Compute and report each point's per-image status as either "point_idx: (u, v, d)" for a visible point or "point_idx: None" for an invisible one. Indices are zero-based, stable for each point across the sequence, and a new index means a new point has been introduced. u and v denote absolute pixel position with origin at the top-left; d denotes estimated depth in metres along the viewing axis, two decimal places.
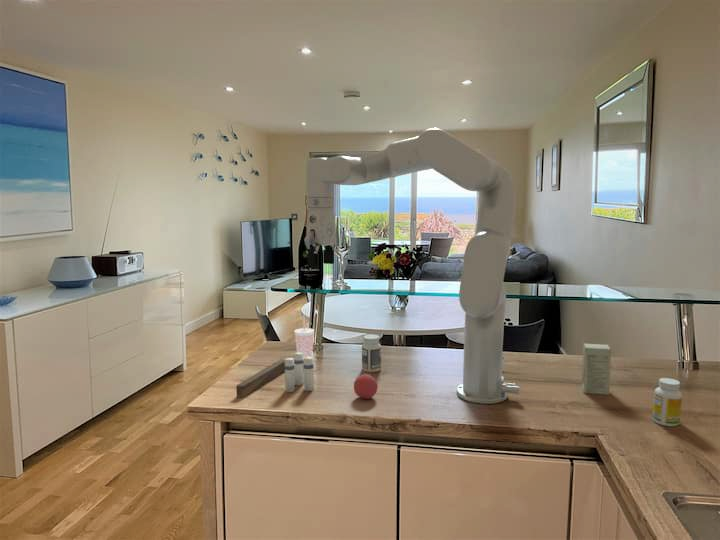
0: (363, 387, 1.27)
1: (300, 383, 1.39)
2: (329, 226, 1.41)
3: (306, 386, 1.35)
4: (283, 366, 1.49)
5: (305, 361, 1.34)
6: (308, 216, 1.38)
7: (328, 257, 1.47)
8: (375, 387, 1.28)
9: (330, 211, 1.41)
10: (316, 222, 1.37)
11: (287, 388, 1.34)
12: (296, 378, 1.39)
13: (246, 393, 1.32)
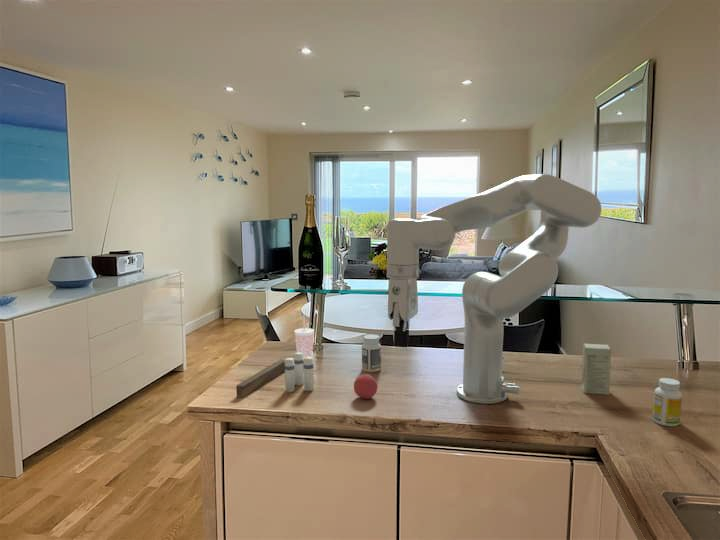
0: (363, 387, 1.27)
1: (300, 383, 1.39)
2: (413, 297, 1.22)
3: (306, 386, 1.35)
4: (283, 366, 1.49)
5: (305, 361, 1.34)
6: (390, 287, 1.19)
7: None
8: (375, 387, 1.28)
9: (414, 279, 1.22)
10: (400, 294, 1.18)
11: (287, 388, 1.34)
12: (296, 378, 1.39)
13: (246, 393, 1.32)
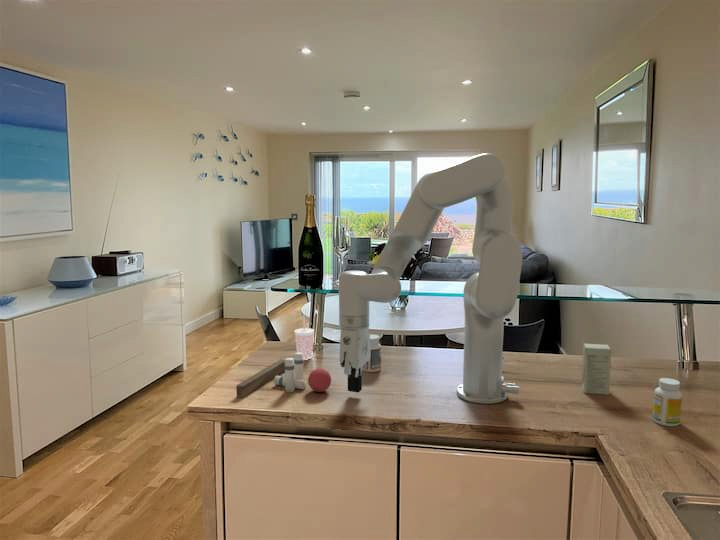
0: (316, 388, 1.32)
1: None
2: (364, 345, 1.28)
3: (298, 386, 1.36)
4: (283, 366, 1.49)
5: (275, 382, 1.38)
6: (342, 337, 1.25)
7: None
8: None
9: (365, 328, 1.29)
10: (350, 344, 1.24)
11: (287, 388, 1.34)
12: (296, 378, 1.39)
13: (246, 393, 1.32)
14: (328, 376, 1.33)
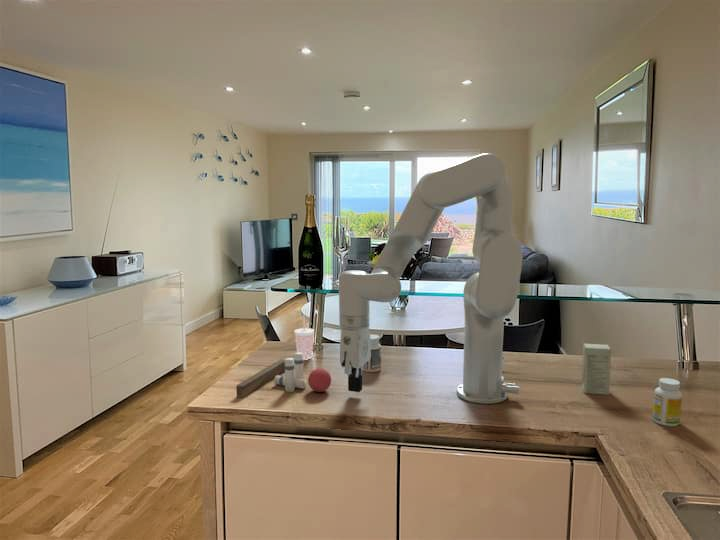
0: (316, 388, 1.32)
1: None
2: (364, 345, 1.28)
3: (298, 385, 1.36)
4: (283, 366, 1.49)
5: (276, 382, 1.38)
6: (342, 336, 1.25)
7: None
8: None
9: (366, 328, 1.29)
10: (350, 344, 1.24)
11: (287, 388, 1.34)
12: None
13: (246, 393, 1.32)
14: (328, 376, 1.33)
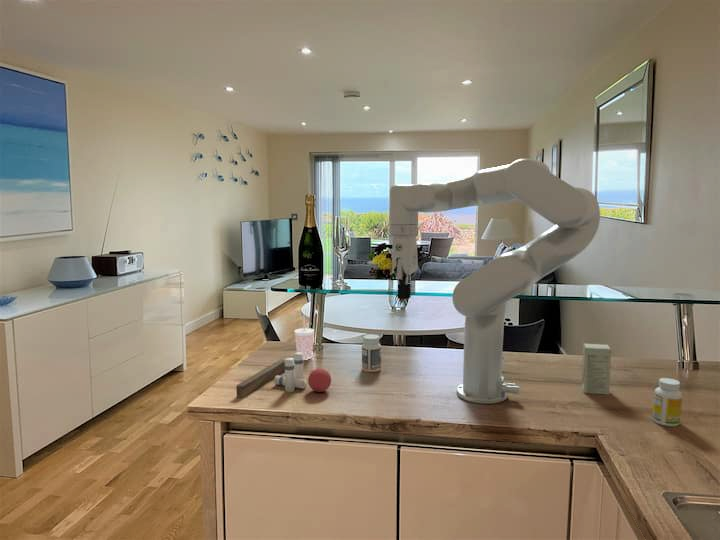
0: (316, 388, 1.32)
1: None
2: (413, 253, 1.38)
3: (298, 385, 1.36)
4: (283, 366, 1.49)
5: (276, 382, 1.38)
6: (394, 244, 1.35)
7: None
8: None
9: (414, 238, 1.38)
10: (403, 250, 1.34)
11: (287, 388, 1.34)
12: None
13: (246, 393, 1.32)
14: (328, 376, 1.33)
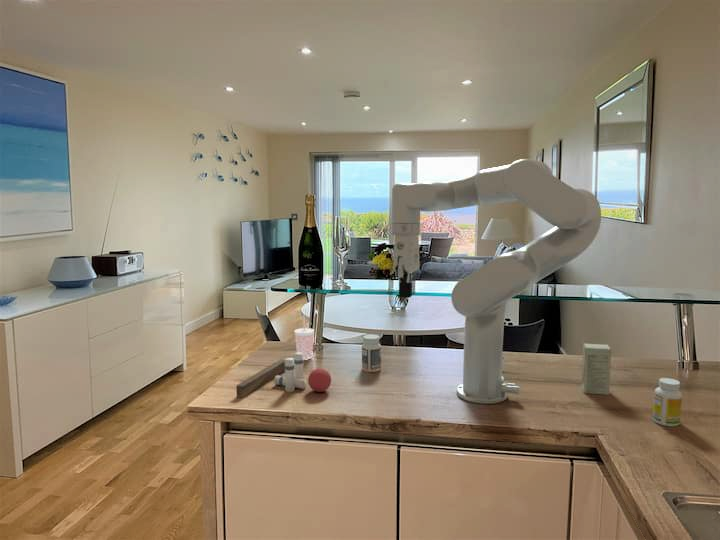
0: (316, 388, 1.32)
1: None
2: (415, 252, 1.38)
3: (298, 385, 1.36)
4: (283, 366, 1.49)
5: (276, 382, 1.38)
6: (395, 243, 1.35)
7: None
8: None
9: (416, 237, 1.39)
10: (404, 249, 1.34)
11: (287, 388, 1.34)
12: None
13: (246, 393, 1.32)
14: (328, 376, 1.33)
